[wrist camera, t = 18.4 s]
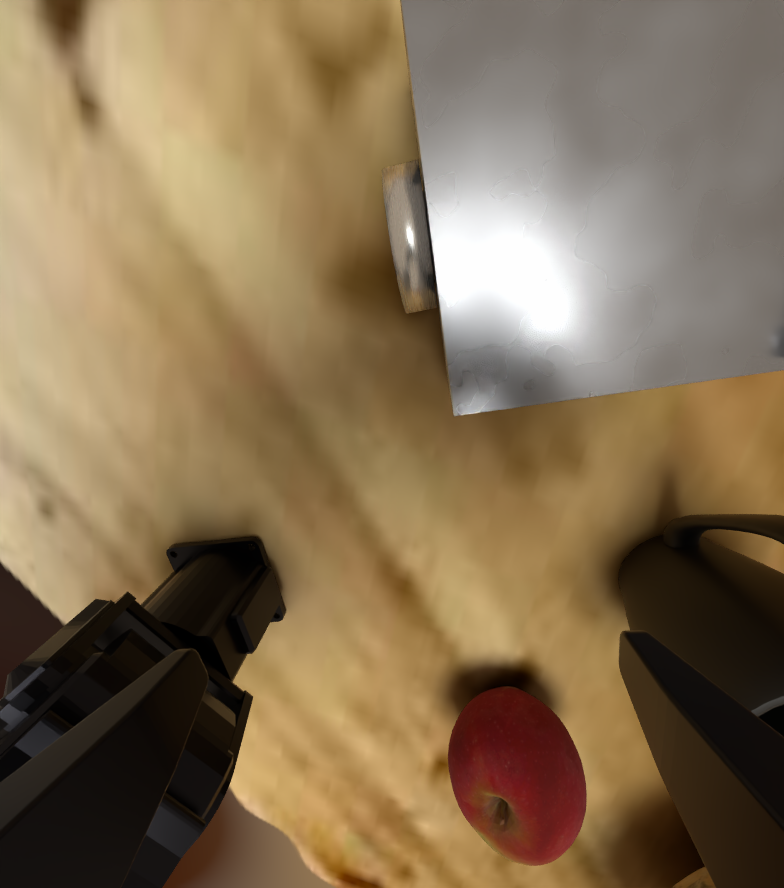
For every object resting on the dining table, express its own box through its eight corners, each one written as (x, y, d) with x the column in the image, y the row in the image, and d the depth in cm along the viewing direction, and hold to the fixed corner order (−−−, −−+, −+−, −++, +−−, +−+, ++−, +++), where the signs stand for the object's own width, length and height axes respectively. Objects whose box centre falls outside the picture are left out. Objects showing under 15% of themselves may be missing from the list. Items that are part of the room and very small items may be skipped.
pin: (410, 312, 17) (401, 314, 12) (392, 191, 15) (374, 143, 11) (793, 240, 14) (958, 209, 10) (819, 86, 13) (1028, -33, 8)
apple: (541, 647, 24) (589, 801, 16) (572, 728, 26) (627, 897, 19) (431, 669, 26) (430, 817, 18) (470, 744, 28) (483, 903, 20)
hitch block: (447, 382, 18) (455, 423, 12) (410, 85, 15) (389, -97, 8) (686, 345, 17) (848, 369, 10) (715, -4, 13) (1012, -333, 6)
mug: (770, 433, 18) (1108, 560, 9) (743, 623, 22) (959, 844, 13) (589, 458, 19) (723, 589, 10) (594, 632, 23) (695, 836, 14)
